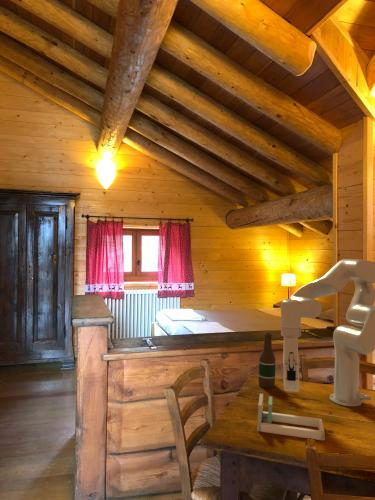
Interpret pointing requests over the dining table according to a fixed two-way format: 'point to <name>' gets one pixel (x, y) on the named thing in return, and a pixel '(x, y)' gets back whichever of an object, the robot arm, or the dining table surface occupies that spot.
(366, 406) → the dining table surface
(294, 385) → the syrup box
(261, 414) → the white angular frame
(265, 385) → the beer bottle
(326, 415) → the dining table surface
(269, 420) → the plate
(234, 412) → the dining table surface
